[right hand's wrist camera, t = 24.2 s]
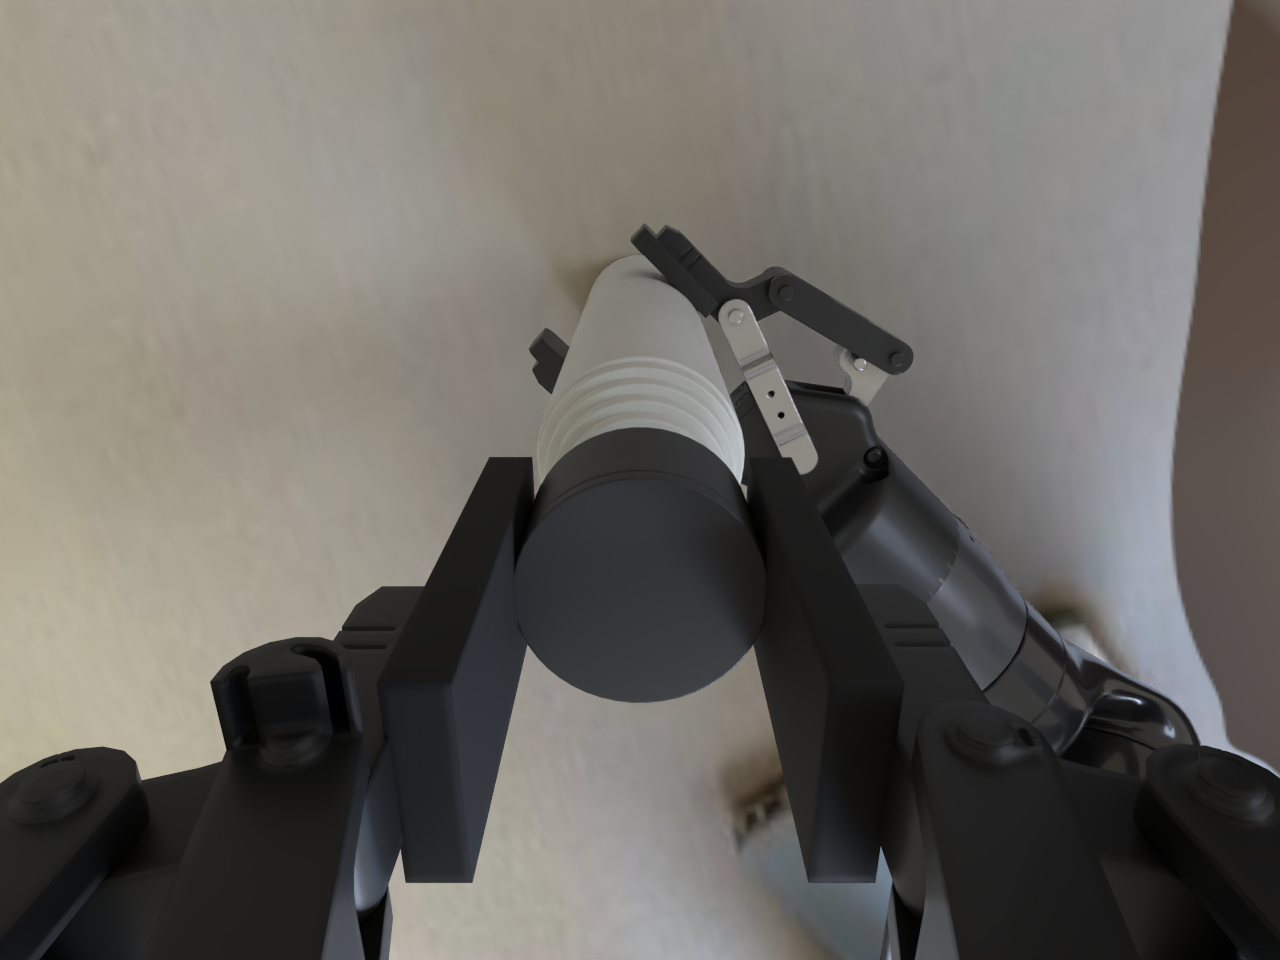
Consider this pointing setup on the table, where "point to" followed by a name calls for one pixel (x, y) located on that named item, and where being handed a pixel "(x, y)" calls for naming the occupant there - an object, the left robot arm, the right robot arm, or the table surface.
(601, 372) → the bottle
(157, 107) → the table surface
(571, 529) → the cap
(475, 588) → the right robot arm
